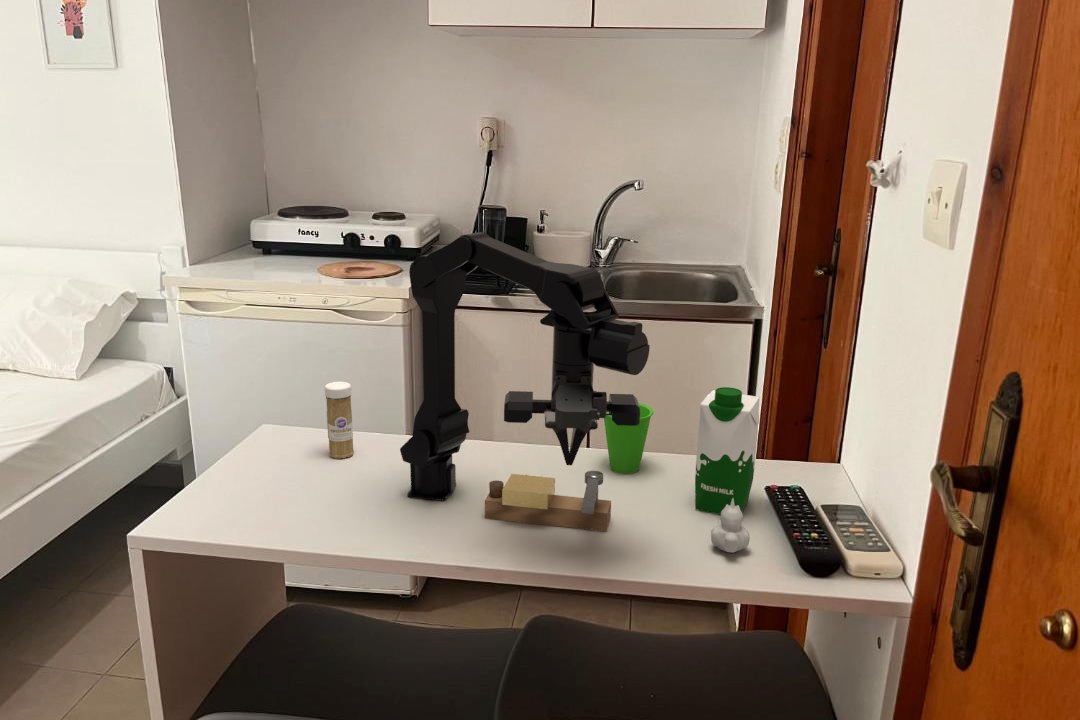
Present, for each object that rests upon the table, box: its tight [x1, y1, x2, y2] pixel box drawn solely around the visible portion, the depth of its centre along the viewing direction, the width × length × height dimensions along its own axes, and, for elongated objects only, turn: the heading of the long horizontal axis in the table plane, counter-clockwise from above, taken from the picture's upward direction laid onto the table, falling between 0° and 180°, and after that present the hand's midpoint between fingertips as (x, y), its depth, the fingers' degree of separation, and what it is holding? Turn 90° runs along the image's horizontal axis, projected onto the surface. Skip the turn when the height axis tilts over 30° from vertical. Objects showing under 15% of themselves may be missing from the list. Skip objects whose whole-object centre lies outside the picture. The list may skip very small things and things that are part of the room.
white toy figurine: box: [710, 499, 751, 553], centre depth 121 cm, size 5×7×8 cm
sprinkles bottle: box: [324, 381, 355, 459], centre depth 153 cm, size 5×5×14 cm
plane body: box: [484, 480, 612, 532], centre depth 131 cm, size 19×4×7 cm, turn 78°
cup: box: [603, 402, 654, 475], centre depth 149 cm, size 9×9×11 cm
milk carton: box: [694, 386, 760, 516], centre depth 134 cm, size 9×9×20 cm
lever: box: [582, 470, 604, 514], centre depth 124 cm, size 12×3×1 cm, turn 172°
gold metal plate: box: [502, 473, 556, 509], centre depth 131 cm, size 7×6×2 cm
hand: (569, 464), depth 121 cm, fingers closed
